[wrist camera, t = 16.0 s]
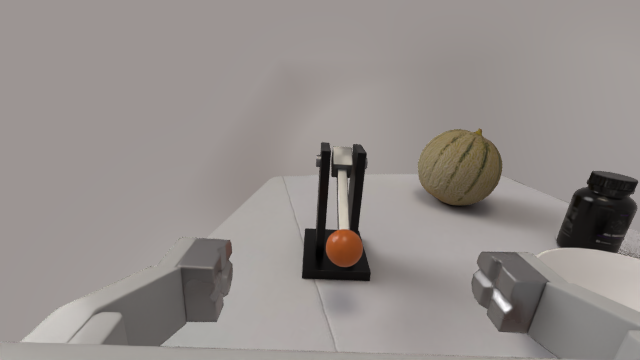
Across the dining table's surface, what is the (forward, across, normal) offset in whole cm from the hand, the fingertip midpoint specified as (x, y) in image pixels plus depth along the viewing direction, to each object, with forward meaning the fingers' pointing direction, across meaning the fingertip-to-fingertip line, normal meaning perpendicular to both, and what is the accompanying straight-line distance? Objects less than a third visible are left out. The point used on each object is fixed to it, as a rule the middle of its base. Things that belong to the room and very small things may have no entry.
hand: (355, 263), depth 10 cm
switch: (+22, -2, +9) cm, 24 cm away
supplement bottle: (+30, -40, +17) cm, 53 cm away
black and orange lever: (+26, -2, +17) cm, 31 cm away
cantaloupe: (+47, -27, +17) cm, 57 cm away
